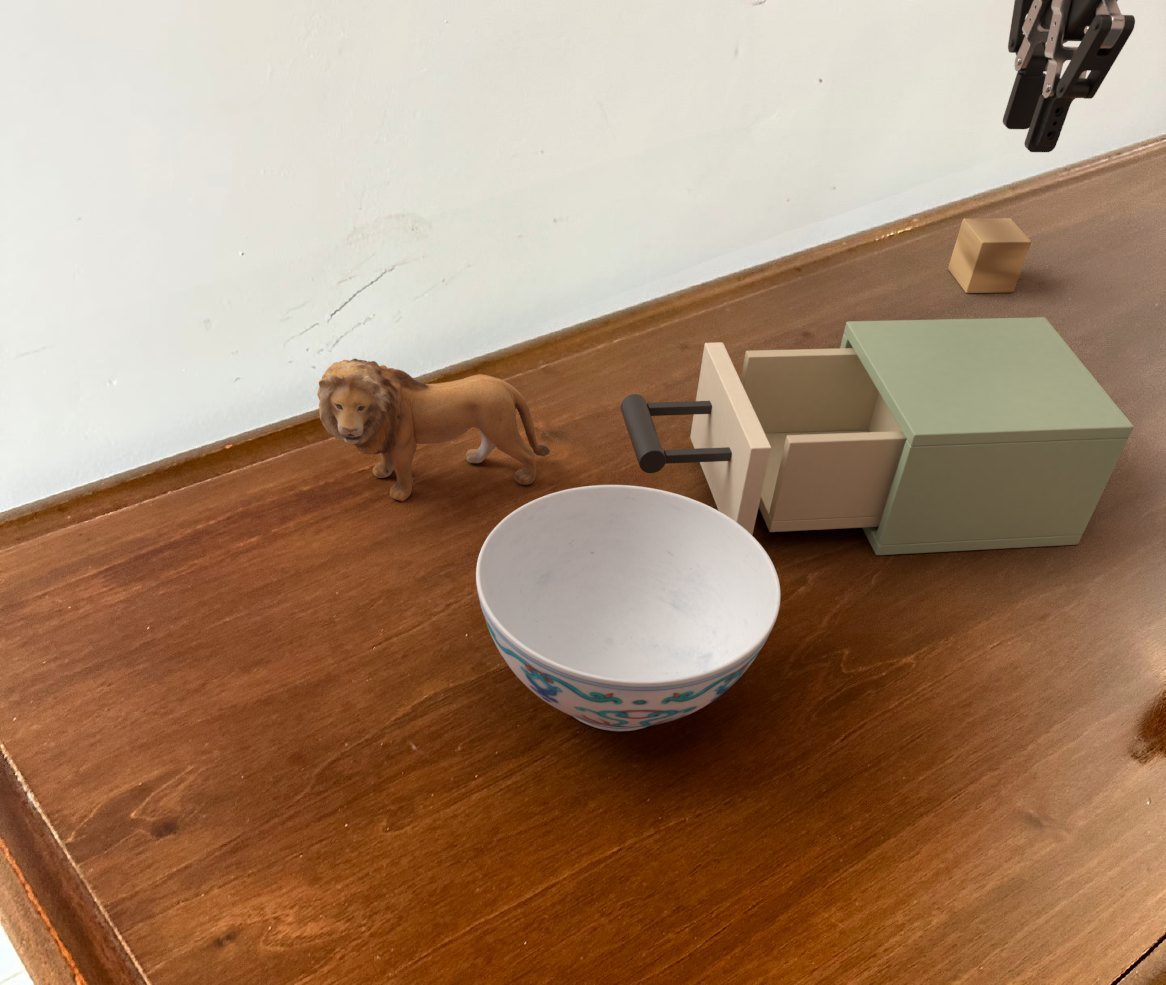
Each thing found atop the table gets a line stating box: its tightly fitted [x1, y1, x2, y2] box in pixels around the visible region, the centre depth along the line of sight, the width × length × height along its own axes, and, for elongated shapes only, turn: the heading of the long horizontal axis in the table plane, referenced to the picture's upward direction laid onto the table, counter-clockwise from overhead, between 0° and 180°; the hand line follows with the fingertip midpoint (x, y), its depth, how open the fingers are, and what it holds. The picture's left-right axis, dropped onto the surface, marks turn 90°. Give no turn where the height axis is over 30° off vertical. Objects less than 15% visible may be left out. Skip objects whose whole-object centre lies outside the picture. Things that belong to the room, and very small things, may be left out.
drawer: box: [620, 342, 907, 536], centre depth 73 cm, size 18×11×7 cm, turn 100°
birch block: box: [947, 217, 1032, 294], centre depth 97 cm, size 4×4×4 cm
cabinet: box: [839, 316, 1134, 556], centre depth 75 cm, size 14×13×9 cm
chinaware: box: [475, 484, 782, 732], centre depth 61 cm, size 15×15×8 cm
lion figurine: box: [316, 357, 551, 502], centre depth 72 cm, size 15×5×9 cm, turn 115°
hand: (1027, 137), depth 90 cm, fingers open, 3 cm apart
